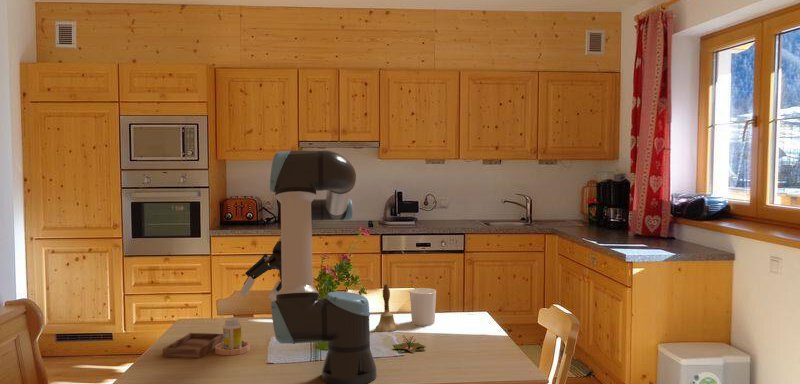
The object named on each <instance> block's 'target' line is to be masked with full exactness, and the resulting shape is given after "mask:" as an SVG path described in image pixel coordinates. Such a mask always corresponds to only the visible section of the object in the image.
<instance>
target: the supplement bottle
mask: <svg viewBox="0 0 800 384" xmlns="http://www.w3.org/2000/svg"><path fill="white" fill-rule="evenodd" d="M224 320H225V324H224V325H223V326H222V328H223V329H222V334H223V338H224V348H223V349H227V350H231V349H239V348H242V347H243V346H242V325H241V323H240V322H239V317H237V316H236V317H235V316H231V317H227V318H225V319H224Z"/></svg>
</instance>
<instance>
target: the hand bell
mask: <svg viewBox="0 0 800 384" xmlns="http://www.w3.org/2000/svg"><path fill="white" fill-rule="evenodd" d="M390 296H391V292H390V288H389V284H383V288H382V298H383V302H384V306H383V307H384V308H383V309H384V311H383V312H382V313H381V314H380V318H379V322H378V324H377V325H376V326H375V330H376V331H377V332H382V333H383V332H384V333H390V332H396V331H398V330H399V329H400V328H399V326H398V325H397V324H396V322H395V317H394V314H393V312H391V311H390V305H389V303H390V298H391V297H390Z"/></svg>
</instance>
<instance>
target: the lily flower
mask: <svg viewBox="0 0 800 384" xmlns="http://www.w3.org/2000/svg"><path fill="white" fill-rule="evenodd" d="M402 338H403V339H404V340H402V341H403V342H402V343H396V344H393V346H394V347H392V349H391V350H397V349H398V350H397V353H398V354H401V353H405V352H407V351H408V352H410V353H411V354H415V352H416V351H424V352H425V351H426V349H425V348H423V347H425V345H424V344H421V343H420V342H416V340H417V339H416V338H414V335H411V336H410V337H409V338H408V337H407V336H405V335H402ZM413 338H414V339H413ZM412 340H413V341H412ZM403 350H404V351H403Z"/></svg>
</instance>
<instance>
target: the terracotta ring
mask: <svg viewBox="0 0 800 384" xmlns="http://www.w3.org/2000/svg"><path fill="white" fill-rule="evenodd" d="M241 340H242V339H241ZM249 351H251V343H250V341H247V340H242V348H239V349H231V350H227V349H224V342H221V343H218V344H217V345H215V348H214V353H215V354H216V355H219V356H235V355H237V356H238V355H242V354H244V353H248V352H249Z"/></svg>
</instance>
